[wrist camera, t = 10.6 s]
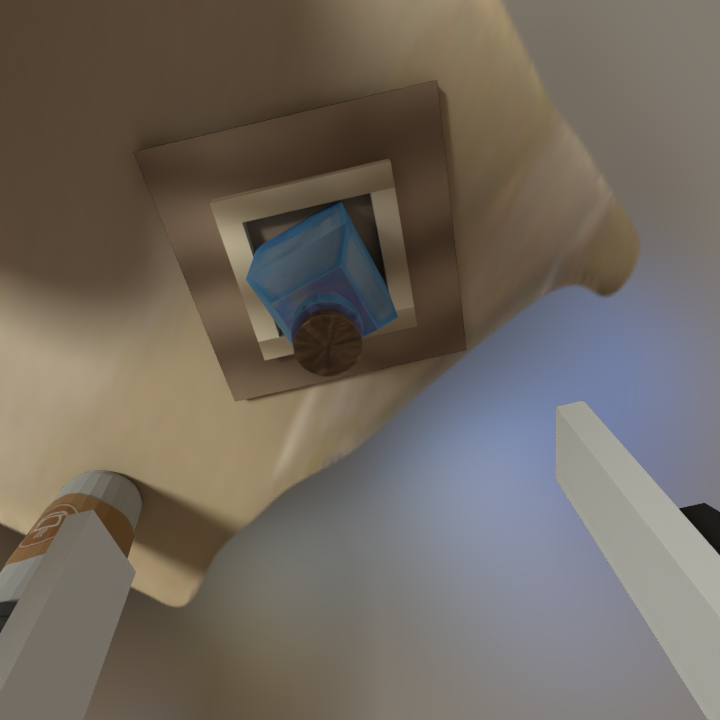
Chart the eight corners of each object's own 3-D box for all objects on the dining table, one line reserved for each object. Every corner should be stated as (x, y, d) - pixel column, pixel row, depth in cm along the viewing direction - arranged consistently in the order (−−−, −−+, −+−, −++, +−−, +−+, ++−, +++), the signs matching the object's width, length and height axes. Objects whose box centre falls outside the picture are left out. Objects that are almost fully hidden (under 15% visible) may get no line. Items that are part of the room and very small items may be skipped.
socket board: (138, 150, 29) (126, 154, 27) (433, 80, 29) (442, 80, 27) (236, 394, 38) (232, 410, 36) (462, 343, 37) (470, 357, 36)
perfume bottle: (306, 322, 34) (304, 423, 24) (256, 246, 31) (230, 324, 21) (384, 280, 33) (417, 367, 23) (340, 198, 30) (355, 255, 20)
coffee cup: (124, 446, 39) (32, 623, 26) (173, 515, 43) (114, 698, 30) (31, 475, 40) (-105, 662, 27) (87, 540, 44) (-7, 730, 31)
